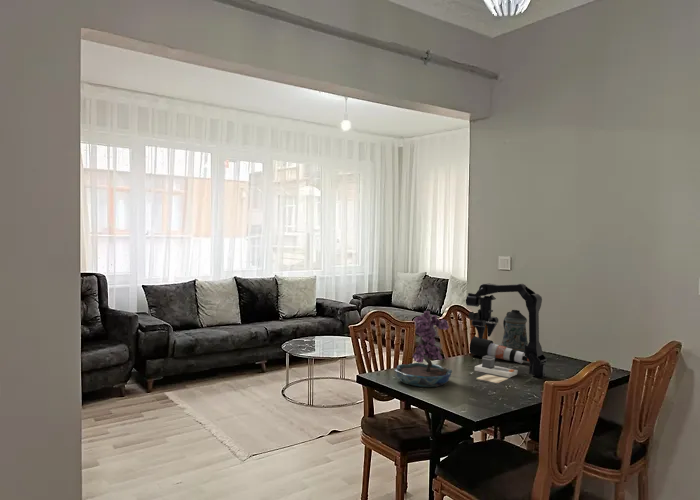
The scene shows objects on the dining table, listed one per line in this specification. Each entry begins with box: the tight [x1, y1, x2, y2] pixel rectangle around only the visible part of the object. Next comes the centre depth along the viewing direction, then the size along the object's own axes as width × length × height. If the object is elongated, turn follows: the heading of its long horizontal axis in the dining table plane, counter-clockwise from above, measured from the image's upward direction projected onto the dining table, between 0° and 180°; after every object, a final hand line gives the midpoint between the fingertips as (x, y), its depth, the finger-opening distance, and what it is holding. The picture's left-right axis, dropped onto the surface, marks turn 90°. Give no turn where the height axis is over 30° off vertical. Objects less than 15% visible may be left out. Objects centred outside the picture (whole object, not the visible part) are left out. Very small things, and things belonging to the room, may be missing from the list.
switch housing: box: [474, 363, 518, 379], centre depth 261 cm, size 18×9×4 cm, turn 49°
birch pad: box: [475, 373, 509, 386], centre depth 249 cm, size 11×11×1 cm
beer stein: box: [500, 309, 529, 356], centre depth 310 cm, size 16×19×25 cm
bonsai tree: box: [393, 310, 453, 388], centre depth 246 cm, size 35×27×33 cm
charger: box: [481, 355, 496, 369], centre depth 263 cm, size 4×4×7 cm
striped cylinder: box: [469, 335, 530, 364], centre depth 292 cm, size 10×34×10 cm, turn 54°
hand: (484, 337), depth 277 cm, fingers open, 9 cm apart
